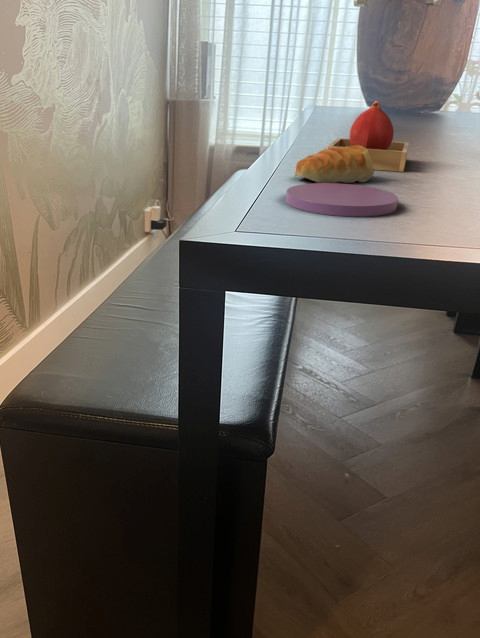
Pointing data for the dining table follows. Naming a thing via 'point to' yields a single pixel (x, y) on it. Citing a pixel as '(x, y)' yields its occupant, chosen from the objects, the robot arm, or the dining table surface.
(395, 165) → the tray
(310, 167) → the pastry
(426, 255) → the dining table surface
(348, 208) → the lid
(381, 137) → the onion
